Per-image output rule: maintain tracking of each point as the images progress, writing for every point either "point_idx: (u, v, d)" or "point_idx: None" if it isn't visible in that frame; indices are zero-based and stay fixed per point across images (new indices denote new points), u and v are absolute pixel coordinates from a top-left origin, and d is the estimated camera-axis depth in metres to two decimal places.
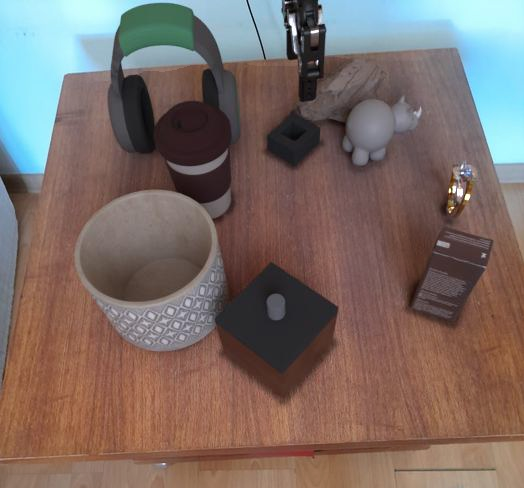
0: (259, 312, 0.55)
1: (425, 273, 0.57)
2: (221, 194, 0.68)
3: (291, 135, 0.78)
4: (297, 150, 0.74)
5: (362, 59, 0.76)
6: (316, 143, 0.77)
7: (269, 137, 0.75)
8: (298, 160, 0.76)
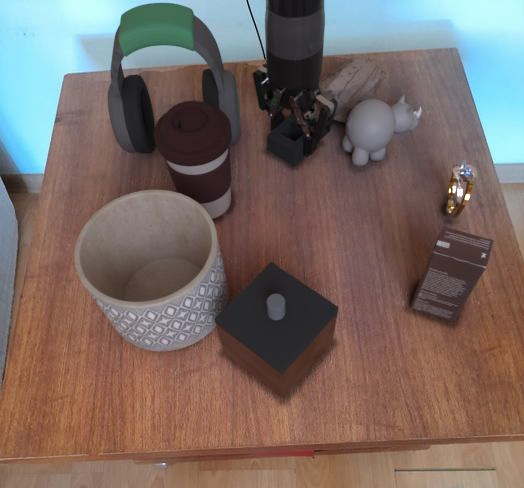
0: (259, 312, 0.55)
1: (425, 273, 0.57)
2: (221, 194, 0.68)
3: (291, 135, 0.78)
4: (297, 150, 0.74)
5: (362, 59, 0.76)
6: None
7: (269, 137, 0.75)
8: (298, 160, 0.76)
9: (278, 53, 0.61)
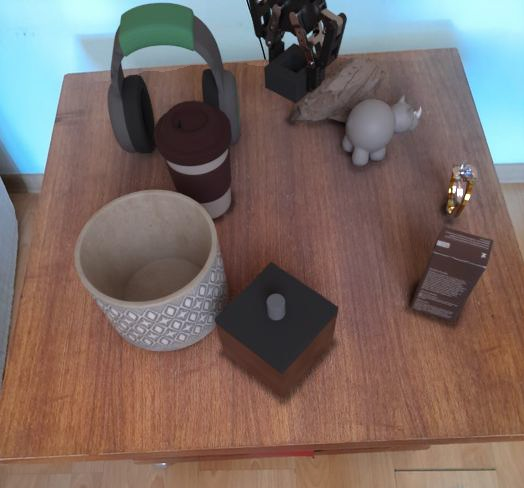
0: (259, 312, 0.55)
1: (425, 273, 0.57)
2: (221, 194, 0.68)
3: (292, 70, 0.68)
4: (299, 83, 0.64)
5: (362, 59, 0.76)
6: None
7: (267, 69, 0.65)
8: (300, 96, 0.66)
9: None
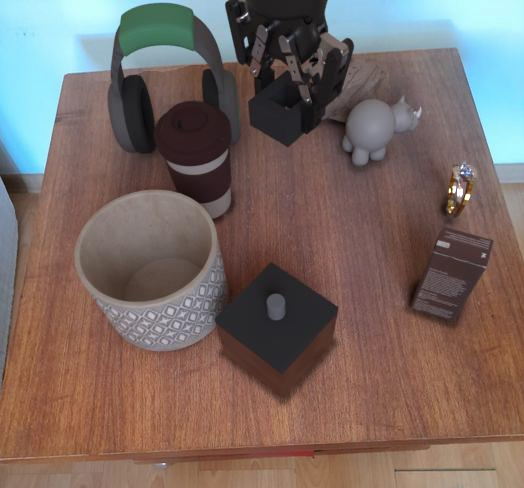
0: (259, 312, 0.55)
1: (425, 273, 0.57)
2: (221, 194, 0.68)
3: (285, 103, 0.54)
4: (292, 123, 0.50)
5: (362, 59, 0.76)
6: None
7: (251, 104, 0.51)
8: (294, 139, 0.52)
9: None
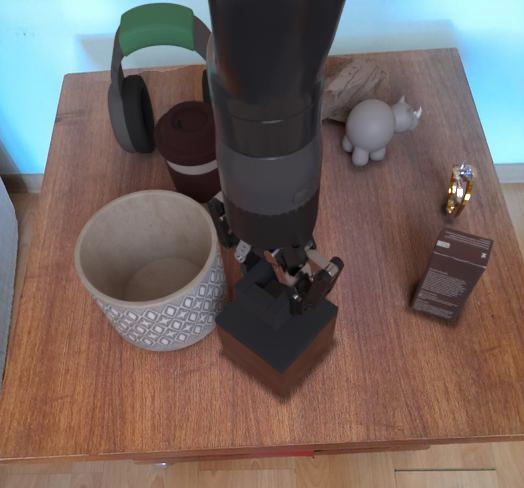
0: None
1: (425, 273, 0.57)
2: None
3: (272, 277, 0.52)
4: (279, 314, 0.47)
5: (362, 59, 0.76)
6: None
7: (237, 289, 0.49)
8: (282, 322, 0.49)
9: (240, 203, 0.34)
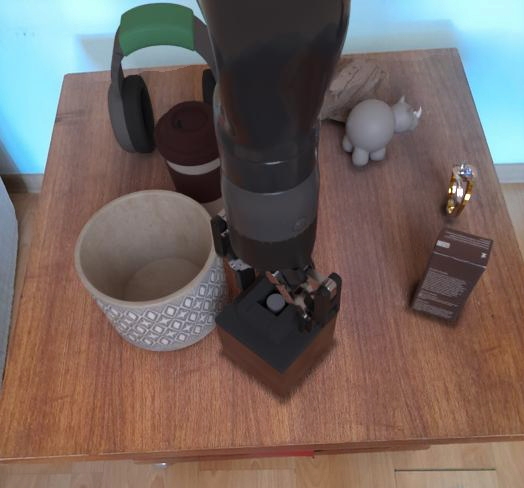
0: None
1: (425, 273, 0.57)
2: (221, 194, 0.68)
3: None
4: (280, 331, 0.51)
5: (362, 59, 0.76)
6: None
7: (240, 308, 0.52)
8: (282, 338, 0.53)
9: (243, 231, 0.37)
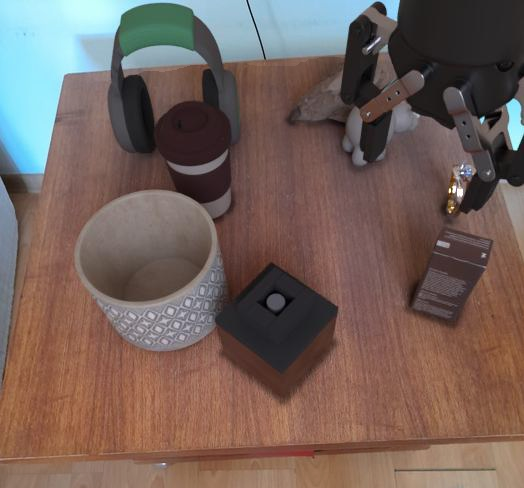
0: None
1: (425, 273, 0.57)
2: (221, 194, 0.68)
3: None
4: (280, 331, 0.51)
5: None
6: (308, 310, 0.54)
7: (240, 308, 0.52)
8: (282, 338, 0.53)
9: None
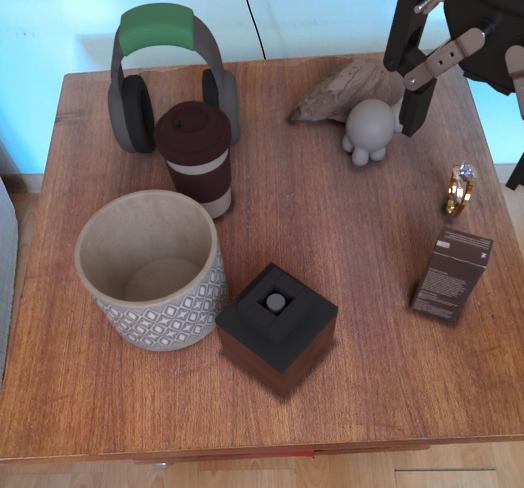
0: None
1: (425, 273, 0.57)
2: (221, 194, 0.68)
3: None
4: (280, 331, 0.51)
5: (362, 59, 0.76)
6: (308, 310, 0.54)
7: (240, 308, 0.52)
8: (282, 338, 0.53)
9: None
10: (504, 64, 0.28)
